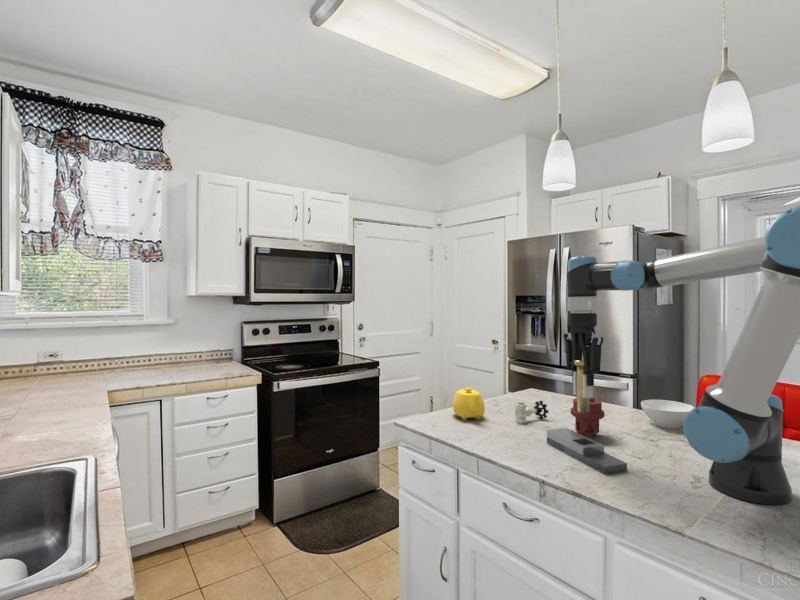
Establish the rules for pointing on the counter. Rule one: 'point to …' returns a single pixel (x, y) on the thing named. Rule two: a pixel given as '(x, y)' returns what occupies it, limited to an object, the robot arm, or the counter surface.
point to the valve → (529, 411)
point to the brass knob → (581, 388)
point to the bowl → (666, 412)
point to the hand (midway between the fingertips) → (583, 395)
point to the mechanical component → (588, 418)
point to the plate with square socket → (585, 450)
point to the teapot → (468, 404)
